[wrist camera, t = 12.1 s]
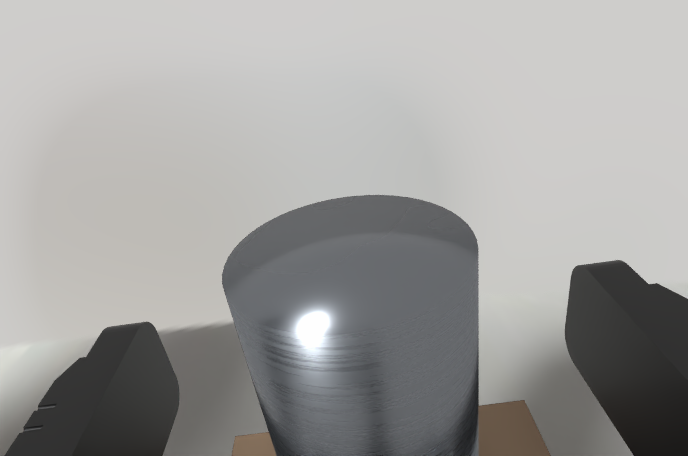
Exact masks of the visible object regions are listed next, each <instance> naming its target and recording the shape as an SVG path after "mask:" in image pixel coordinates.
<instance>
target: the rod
mask: <svg viewBox="0 0 688 456" xmlns="http://www.w3.org/2000/svg"><path fill="white" fill-rule="evenodd" d="M222 284H223V288H224V292H225V295H226V298H227V302H228V305H229V307H230V311H231V314H232V317H233V320H234V324H235V327H236V330H237V333H238V336H239V339H240V343H241V346H242V349H243V352H244V355H245V358H246V361H247V365H248V368H249V371H250V374H251V377H252V380H253V383H254V387H255V390H256V393H257V396H258V399H259V402H260V406H261V409H262V412H263V415H264V418H265V421H266V424H267V428H268V431H269V434H270V437H271V440H272V443H273V447H274V450H275V453H276V456H479V424H478V244H477V239H476V237H475V235H474V233H473V231H472V230H471V228H470V227H469V226H468V224H466V222H464V221H463V220H462V219H461V218H460V217H459V216H457V215H456V214H454V213H453V212H451V211H449V210H447V209H445V208H443V207H441V206H438V205H436V204H433V203H430V202H426V201H423V200H419V199H413V198H408V197H400V196H387V195H364V196H352V197H343V198H337V199H331V200H326V201H322V202H318V203H315V204H310V205H307V206H304V207H301V208H298V209H295V210H292V211H290V212H287V213H285V214H283V215H280V216H278V217H276V218H274V219H272V220H270V221H268V222H267V223H265V224H263V225H262V226H260V227H258V228H257V229H256V230H255V231H253V232H251V233H250V234H249V235H248V236H247V237H245V238H244V239H243V240H242V241H241V242H240V243H239V244H238V245H237V246H236V247H235V249H234V250H233V251H232V253H231V254H230V256H229V257H228V259H227V262H226V263H225V266H224V270H223V274H222Z"/></svg>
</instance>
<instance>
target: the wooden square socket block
mask: <svg viewBox="0 0 688 456" xmlns="http://www.w3.org/2000/svg"><path fill="white" fill-rule="evenodd" d="M478 424H479V456H551V455H550V453H549V451H548V449H547V447H546V445H545V443H544V441H543V439H542V437H541V434H540V432H539V430H538V428H537V426H536V424H535V422H534V420H533V418H532V415H531V413H530V411H529V409H528V407H527V405H526V403H525V401H524V400H521V401H513V402H505V403H497V404H489V405H482V406H478ZM232 456H276V453H275V450H274V447H273V443H272V440H271V437H270V434H269V432H266V433H258V434H250V435H242V436H235V440H234V446H233V451H232Z"/></svg>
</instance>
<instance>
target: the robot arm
mask: <svg viewBox="0 0 688 456" xmlns="http://www.w3.org/2000/svg"><path fill="white" fill-rule="evenodd" d="M565 339H566V344H567V348H568V351H569V354H570V357H571V359H572V361H573V363H574V364H575V366H576V367H577V369H578V370H579V372H580V374H581V375H582V377H583V378H584V380H585V381H586V383H587V384H588V386H589V387H590V389H591V390H592V392H593V394H594V395H595V397H596V398H597V400H598V401H599V403H600V404H601V406H602V407H603V409H604V410H605V412H606V414H607V415H608V417H609V418H610V420H611V421H612V423H613V424H614V426H615V427H616V429H617V430H618V432H619V433H620V435H621V437H622V438H623V440H624V441H625V443H626V444H627V446H628V447H629V449H630V450H631V452H632V453H633V455H634V456H688V299H687V298H685V297H683V296H681V295H679V294H677V293H675V292H673V291H671V290H669V289H667V288H665V287H663V286H661V285H659V284H657V283H656V284H648V283H647V282H646V281H645V280H644V279H642V278H641V277H640V276H639V275H638V274H637V273H636V272H635V271H634V270H633V269H632V268H631V267H629V265H627V264H626V263H625V262H623V261H620V260H616V261H609V262H601V263H594V264H586V265H578V266H576V267H575V268H574V269H573V271H572V275H571V282H570V291H569V299H568V307H567V316H566V324H565ZM178 405H179V386H178V381H177V378H176V376H175V373H174V371H173V369H172V366H171V364H170V361H169V359H168V357H167V354H166V352H165V350H164V347H163V345H162V343H161V340H160V338H159V335H158V333H157V331H156V329H155V327H154V326H153V325H152V324H151V323H149V322H142V323H135V324H127V325H120V326H112V327H107V328H106V329H104V330H103V331H102V333H101V334H100V336H99V337H98V339H97V341H96V342H95V344H94V345H93V347H92V349H91V350H90V352H89V353H88V355H87V357H83V358H79V359H78V360H77V361H76V362H75V363H74V364H73V365H72V366H70V367H69V368H68V369H67V370H66V371H65V372H64V373H63V374H62V375H60V376H59V377H58V378H57V379H56V380H55V381H54V383H53V384H52V386H51V387H50V389H49V390H48V392H47V393H46V395H45V396H44V398H43V399H42V401H41V402H40V404H39V405H38V411H34V412H33V414H32V415H31V417H30V418H29V420H28V421H27V423H26V424H25V426H24V427H23V428H24V432H23V433H19V435H18V436H17V438H16V439H15V441H14V442H13V444H12V445H11V447H10V448H9V450H8V451H7V453H6V454H5V456H162V455H163V452H164V449H165V446H166V443H167V440H168V438H169V435H170V432H171V429H172V426H173V423H174V420H175V417H176V414H177V410H178Z"/></svg>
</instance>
